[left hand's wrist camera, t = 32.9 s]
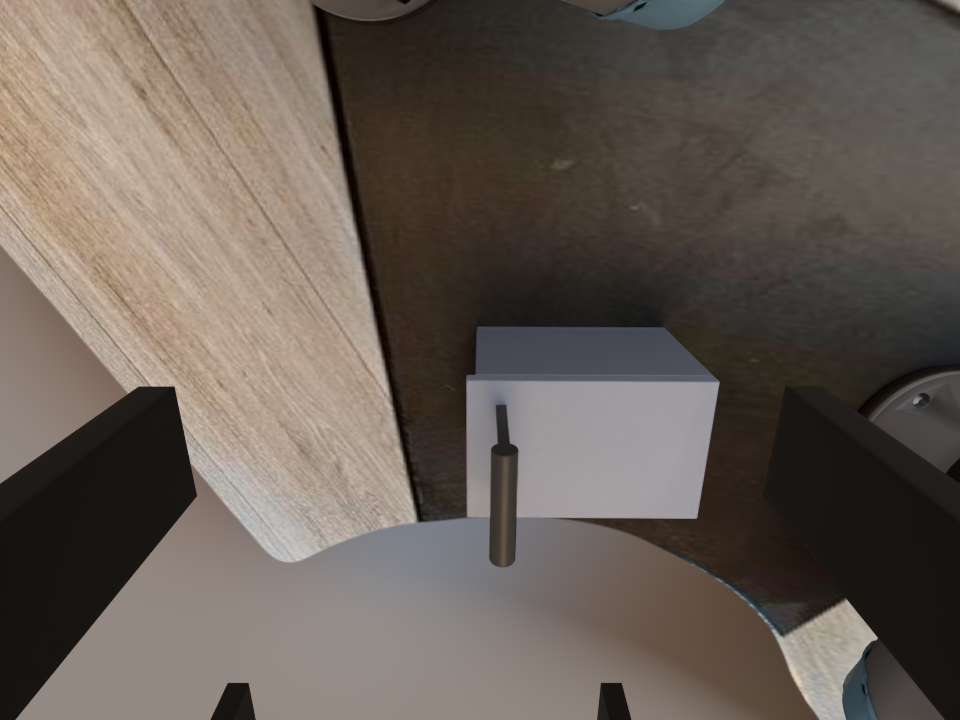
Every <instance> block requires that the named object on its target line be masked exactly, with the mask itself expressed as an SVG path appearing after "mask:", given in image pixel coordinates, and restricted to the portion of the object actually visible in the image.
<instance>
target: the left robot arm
mask: <svg viewBox="0 0 960 720" xmlns="http://www.w3.org/2000/svg"><path fill="white" fill-rule="evenodd" d="M308 1H309V2H311V3H312V4H313V5H315V6H316V7H318V8H319V9H321V10H323V11H324V12H326V13H328V14H330V15H332V16H335V17H337V18H339V19H342V20H345V21H349V22H352V23H358V24H365V25H384V24H390V23H395V22H399V21H402V20H405V19H408V18H410V17H413V16H415V15H417V14H419V13H420V12H422V11H424V10H425V9H427V8H428V7H430V6H431V5H433V4H434V3H435V2H436V1H437V0H308ZM561 1H564V2H567V3H570V4H572V5H575V6H578V7H581V8H584V9H586V10H587V12H588V13H589V14H590V15H592V16H593V17H596V18H598V19H601V20H603V19H608V20H616V19H620V20H623V21H627V22H630V23H634V24H637V25H641V26H644V27H648V28H651V29H655V30H662V31H663V30H670V29H678V28H681V27H686V26H689V25H691V24H693V23H695V22H697V21H698V20H700V19H702V18H703V17H705V16H706V15H708V14H709V13H711V12H712V11H713V10H715V9H716V8H717V7H718V6H720V5H721V4H722V3H723V2H724V1H725V0H561ZM196 497H197V494H196V489H195V484H194V479H193V474H192V470H191V465H190V460H189V455H188V450H187V445H186V440H185V436H184V431H183V426H182V421H181V416H180V411H179V406H178V402H177V397H176V392H175V387H138V388H136V389H135V390H133V391H132V392H130V393H129V394H128V395H126V396H125V397H123V398H122V399H120V400H119V401H118V402H116V403H115V404H113V405H112V406H110V407H109V408H108V409H106V410H105V411H103V412H102V413H101V414H99V415H98V416H96V417H95V418H93V419H92V420H90V421H89V422H88V423H86V424H85V425H83V426H82V427H81V428H79V429H78V430H76V431H75V432H73V433H72V434H71V435H69V436H68V437H66V438H65V439H63V440H62V441H61V442H59V443H58V444H56V445H55V446H54V447H52V448H51V449H49V450H48V451H46V452H45V453H43V454H42V455H41V456H39V457H38V458H36V459H35V460H33V461H32V462H31V463H29V464H28V465H26V466H25V467H23V468H22V469H21V470H19V471H18V472H16V473H15V474H13V475H12V476H11V477H9V478H8V479H6V480H5V481H4V482H2V483H1V484H0V720H15V719H16V718H17V717H18V716H19V715H20V713H21V712H22V711H23V710H24V708H25V707H26V706H27V705H28V703H29V702H30V701H31V700H32V699H33V697H34V696H35V695H36V694H37V692H38V691H39V690H40V689H41V687H42V686H43V685H44V684H45V682H46V681H47V680H48V679H49V678H50V676H51V675H52V674H53V673H54V671H55V670H56V669H57V668H58V667H59V665H60V664H61V663H62V662H63V660H64V659H65V658H66V657H67V655H68V654H69V653H70V652H71V650H72V649H73V648H74V647H75V646H76V644H77V643H78V642H79V641H80V639H81V638H82V637H83V636H84V635H85V633H86V632H87V631H88V630H89V628H90V627H91V626H92V625H93V623H94V622H95V621H96V620H97V618H98V617H99V616H100V615H101V614H102V612H103V611H104V610H105V609H106V607H107V606H108V605H109V604H110V602H111V601H112V600H113V599H114V598H115V596H116V595H117V594H118V593H119V591H120V590H121V589H122V588H123V586H124V585H125V584H126V583H127V582H128V580H129V579H130V578H131V577H132V575H133V574H134V573H135V572H136V570H137V569H138V568H139V567H140V566H141V564H142V563H143V562H144V561H145V559H146V558H147V557H148V556H149V554H150V553H151V552H152V551H153V550H154V548H155V547H156V546H157V545H158V543H159V542H160V541H161V540H162V538H163V537H164V536H165V535H166V534H167V532H168V531H169V530H170V529H171V527H172V526H173V525H174V524H175V522H176V521H177V520H178V519H179V518H180V516H181V515H182V514H183V513H184V511H185V510H186V509H187V508H188V506H189V505H190V504H191V503H192V502H193V500H194V499H195V498H196ZM763 497H764V498H765V499H766V500H767V502H768V503H769V504H770V505H771V506H772V508H773V509H774V510H775V511H776V513H777V514H778V515H779V516H780V518H781V519H782V520H783V521H784V522H785V524H786V525H787V526H788V527H789V529H790V530H791V531H792V532H793V534H794V535H795V536H796V537H797V538H798V540H799V541H800V542H801V543H802V545H803V546H804V547H805V548H806V550H807V551H808V552H809V553H810V554H811V556H812V557H813V558H814V559H815V561H816V562H817V563H818V564H819V566H820V567H821V568H822V569H823V570H824V572H825V573H826V574H827V575H828V577H829V578H830V579H831V580H832V582H833V583H834V584H835V585H836V586H837V588H838V589H839V590H840V591H841V593H842V594H843V595H844V596H845V598H846V599H847V600H848V601H849V603H850V604H851V605H852V606H853V607H854V609H855V610H856V611H857V612H858V614H859V615H860V616H861V617H862V619H863V620H864V621H865V622H866V623H867V625H868V626H869V627H870V628H871V630H872V631H873V632H874V633H875V635H876V636H877V637H878V638H879V639H880V641H881V642H882V643H883V644H884V646H885V647H886V648H887V649H888V651H889V652H890V653H891V654H892V655H893V657H894V658H895V659H896V660H897V662H898V663H899V664H900V665H901V667H902V668H903V669H904V670H905V671H906V673H907V674H908V675H909V676H910V678H911V679H912V680H913V681H914V683H915V684H916V685H917V686H918V687H919V689H920V690H921V691H922V692H923V694H924V695H925V696H926V697H927V699H928V700H929V701H930V702H931V703H932V705H933V706H934V707H935V708H936V710H937V711H938V712H939V713H940V715H941V716H942V717H943V718H944V720H960V484H959V483H958V482H957V481H955V480H954V479H952V478H951V477H949V476H948V475H947V474H945V473H944V472H942V471H941V470H939V469H938V468H937V467H935V466H934V465H932V464H931V463H929V462H928V461H927V460H925V459H924V458H922V457H921V456H919V455H918V454H917V453H915V452H914V451H912V450H911V449H909V448H908V447H907V446H905V445H904V444H902V443H901V442H899V441H898V440H897V439H895V438H894V437H892V436H891V435H889V434H888V433H887V432H885V431H884V430H882V429H881V428H879V427H878V426H877V425H875V424H874V423H872V422H871V421H870V420H868V419H867V418H865V417H864V416H862V415H861V414H860V413H858V412H857V411H855V410H854V409H852V408H851V407H850V406H848V405H847V404H845V403H844V402H842V401H841V400H840V399H838V398H837V397H835V396H834V395H832V394H831V393H830V392H828V391H827V390H825V389H824V388H822V387H785V392H784V397H783V402H782V406H781V411H780V416H779V421H778V426H777V431H776V435H775V440H774V445H773V450H772V455H771V460H770V465H769V469H768V474H767V479H766V484H765V489H764V494H763Z"/></svg>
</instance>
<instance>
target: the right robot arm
mask: <svg viewBox="0 0 960 720" xmlns="http://www.w3.org/2000/svg"><path fill="white" fill-rule="evenodd" d="M860 414H861V415H862V416H864V417H865V418H867V419H868V420H870V421H871V422H872V423H874V424H875V425H877V426H878V427H879V428H881V429H882V430H884V431H885V432H887V433H888V434H889V435H891V436H892V437H894V438H895V439H897V440H898V441H899V442H901V443H902V444H904V445H905V446H907V447H908V448H909V449H911V450H912V451H914V452H915V453H917V454H918V455H919V456H921V457H922V458H924V459H925V460H927V461H928V462H929V463H931V464H932V465H934V466H935V467H937V468H938V469H939V470H941V471H942V472H944V473H945V474H947V475H948V476H949V477H951V478H952V479H954V480H955V481H957V482H958V483H959V484H960V366H958V365H947V366H937V367H931V368H927V369H923V370H920V371H917V372H914V373H911V374H909V375H907V376H904V377H902V378H900V379H898V380H897V381H895V382H893V383H892V384H890V385H888V386H887V387H886V388H884V389H883V390H881V391H880V392H879V393H878V394H876V395H875V396H874V397H873V398H872V399H871V400H870V401H869V402H868V403H867V404H866V405H865V406H864V408H863V409H862V410H861V411H860ZM842 696H843V698H842V703H843V709H844V713H845V716H846V720H944V718H943V717H942V716H941V715H940V713H939V712H938V711H937V710H936V708H935V707H934V706H933V705H932V703H931V702H930V701H929V700H928V699H927V697H926V696H925V695H924V694H923V692H922V691H921V690H920V689H919V687H918V686H917V685H916V684H915V683H914V681H913V680H912V679H911V678H910V676H909V675H908V674H907V673H906V671H905V670H904V669H903V668H902V667H901V665H900V664H899V663H898V662H897V660H896V659H895V658H894V657H893V655H892V654H891V653H890V652H889V651H888V649H887V648H886V647H885V646H884V644H883V643H882V642H881V641H880V639H879V638H878V639H877V640H876V641H872V642H871V643H870V644H869V645H868V646H867V647H866V648H865V650H864V652H863V655H862V658H861V659H860V660H859V662H858V663H857V664H856V665H855V666H854V668H853V669H852V670H851V671H850V672H849V674H848V675H847V676H846V679H845V681H844V684H843V694H842ZM211 720H256V719H255V714H254V709H253V704H252V699H251V693H250V688H249V684H248V683H228V684H227V686H226V688H225V690H224V692H223V695H222V697H221V699H220V701H219V703H218V705H217V707H216V709H215V712H214V714H213V716H212V718H211ZM597 720H631V717H630V713H629V709H628V705H627V702H626V698H625V694H624V690H623V686H622V683H601V688H600V698H599V708H598V718H597Z"/></svg>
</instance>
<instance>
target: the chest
mask: <svg viewBox="0 0 960 720" xmlns="http://www.w3.org/2000/svg"><path fill="white" fill-rule="evenodd" d="M476 375H582V376H713V375H712V374H711V373H710V372H709V371H708V370H707V369H706V368H705V367H704V366H703V365H702V364H701V363H700V362H699V361H698V360H697V359H696V358H695V357H694V356H693V355H692V354H690V353H689V352H688V351H687V350H686V349H685V348H684V347H683V346H682V345H681V344H680V343H679V342H678V341H677V340H676V339H675V338H674V337H673V336H672V335H671V334H670V333H669V332H668V331H667V330H666V329H665V328H664V327H477V336H476Z"/></svg>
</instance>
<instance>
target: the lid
mask: <svg viewBox="0 0 960 720" xmlns="http://www.w3.org/2000/svg"><path fill="white" fill-rule="evenodd" d="M718 388H719V381H718V380H717V379H716V378H715V377H714V376H582V375H467V378H466V431H467V517H490V561H491V562H492V564H494V565H495V566H498V567H508V566H510V565H512V564H513V563H514V561H515V547H516V517H522V518H697V515H698V509H699V503H700V497H701V491H702V485H703V479H704V473H705V467H706V461H707V454H708V448H709V442H710V436H711V430H712V424H713V418H714V412H715V406H716V400H717V394H718Z"/></svg>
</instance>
